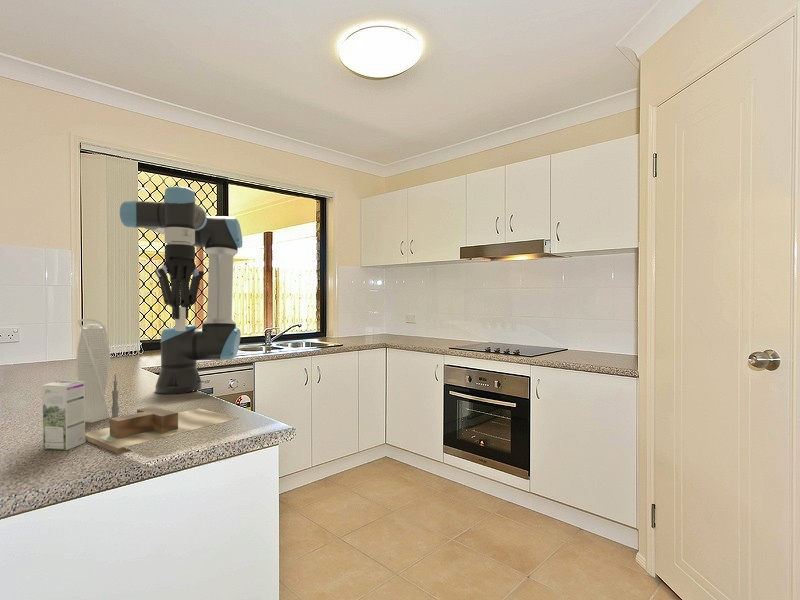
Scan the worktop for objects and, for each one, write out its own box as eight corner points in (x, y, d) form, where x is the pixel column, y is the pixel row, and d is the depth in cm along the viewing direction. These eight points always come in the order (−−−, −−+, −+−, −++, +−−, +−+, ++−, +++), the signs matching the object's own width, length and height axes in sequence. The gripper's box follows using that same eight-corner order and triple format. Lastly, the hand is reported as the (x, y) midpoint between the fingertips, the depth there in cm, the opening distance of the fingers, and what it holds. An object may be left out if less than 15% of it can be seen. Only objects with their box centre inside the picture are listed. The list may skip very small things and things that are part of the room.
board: (198, 412, 133) (198, 408, 133) (239, 422, 122) (239, 418, 122) (81, 438, 108) (81, 433, 108) (118, 454, 97) (118, 448, 97)
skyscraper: (94, 429, 116) (94, 319, 116) (67, 427, 118) (67, 319, 117) (120, 420, 124) (120, 317, 124) (95, 418, 126) (95, 317, 126)
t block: (153, 421, 118) (153, 406, 118) (178, 429, 112) (178, 412, 112) (102, 432, 109) (101, 416, 109) (126, 441, 102) (126, 423, 102)
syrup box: (86, 442, 105) (86, 379, 105) (65, 451, 99) (65, 384, 99) (63, 441, 106) (63, 379, 106) (41, 450, 100) (41, 384, 100)
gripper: (163, 241, 117) (163, 333, 117) (209, 246, 128) (210, 330, 128) (148, 243, 121) (149, 331, 121) (194, 247, 132) (195, 329, 132)
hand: (180, 330), depth 125 cm, fingers closed
